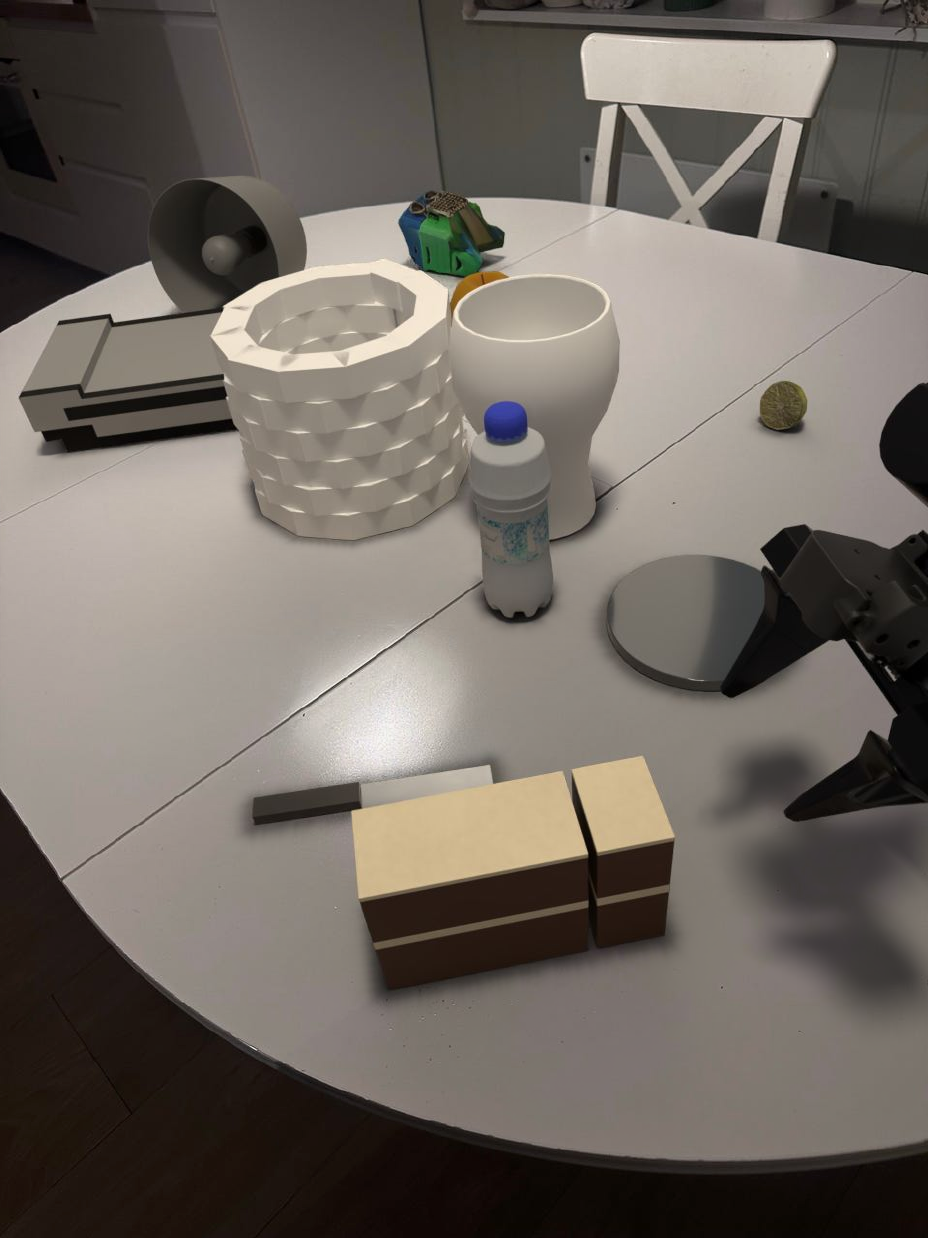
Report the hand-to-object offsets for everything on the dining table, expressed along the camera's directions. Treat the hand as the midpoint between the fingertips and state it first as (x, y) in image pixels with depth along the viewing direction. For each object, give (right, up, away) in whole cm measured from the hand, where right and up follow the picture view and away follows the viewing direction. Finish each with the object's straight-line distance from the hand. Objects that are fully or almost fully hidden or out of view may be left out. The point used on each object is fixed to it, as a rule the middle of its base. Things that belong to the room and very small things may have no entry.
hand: (754, 751), depth 53 cm
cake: (-15, -13, +8) cm, 22 cm away
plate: (+4, +7, +27) cm, 28 cm away
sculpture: (-17, +62, +90) cm, 111 cm away
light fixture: (-49, +58, +90) cm, 118 cm away
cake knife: (-23, -6, +17) cm, 29 cm away
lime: (+18, +29, +49) cm, 60 cm away
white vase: (-9, +19, +42) cm, 47 cm away
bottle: (-12, +9, +32) cm, 35 cm away
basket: (-27, +24, +50) cm, 62 cm away
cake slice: (-6, -11, +9) cm, 15 cm away
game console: (-52, +36, +67) cm, 92 cm away
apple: (-13, +40, +66) cm, 78 cm away
